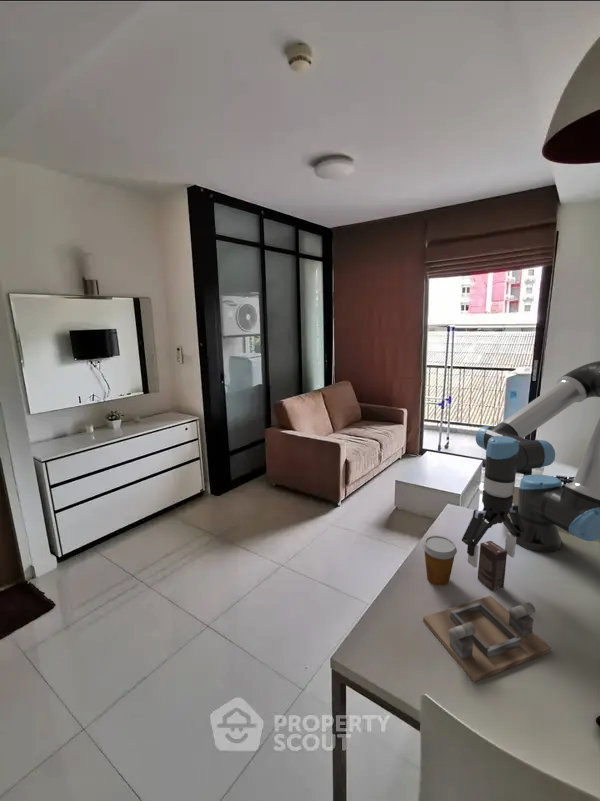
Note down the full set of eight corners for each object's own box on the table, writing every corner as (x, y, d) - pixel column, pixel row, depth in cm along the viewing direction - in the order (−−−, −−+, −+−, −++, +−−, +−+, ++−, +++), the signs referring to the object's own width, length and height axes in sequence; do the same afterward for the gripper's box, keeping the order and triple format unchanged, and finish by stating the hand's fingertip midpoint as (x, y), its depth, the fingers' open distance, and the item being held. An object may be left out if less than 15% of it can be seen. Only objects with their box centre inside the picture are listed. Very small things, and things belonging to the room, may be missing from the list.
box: (504, 587, 109) (508, 550, 107) (492, 592, 108) (495, 554, 105) (488, 575, 115) (490, 539, 112) (476, 578, 113) (479, 543, 111)
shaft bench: (492, 598, 105) (494, 574, 104) (553, 650, 88) (556, 623, 87) (420, 621, 98) (421, 596, 97) (471, 683, 81) (473, 654, 80)
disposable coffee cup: (457, 591, 108) (460, 554, 106) (423, 588, 110) (424, 551, 108) (451, 570, 117) (453, 535, 115) (419, 567, 119) (421, 533, 117)
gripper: (520, 480, 112) (513, 544, 117) (451, 493, 105) (446, 560, 109) (544, 490, 105) (535, 558, 110) (471, 505, 98) (465, 577, 102)
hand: (491, 559), depth 109 cm, fingers open, 13 cm apart
